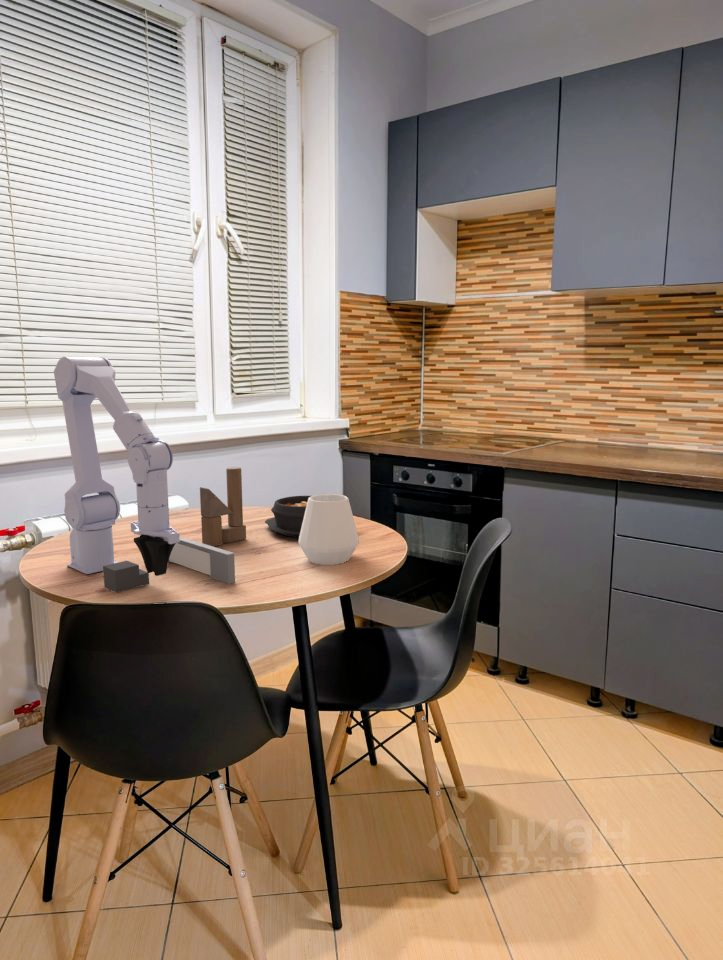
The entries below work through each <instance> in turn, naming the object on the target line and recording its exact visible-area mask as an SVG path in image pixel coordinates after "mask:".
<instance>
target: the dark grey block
mask: <svg viewBox="0 0 723 960" xmlns="http://www.w3.org/2000/svg"><path fill="white" fill-rule="evenodd" d="M117 562H118V561H117ZM102 572H103V574H102V575H103V586H104V587H103V588H105V589H107V590H109V591H112V592H114V593H116V594H117V593H120V592H123V591H124V592H125V591H127V590H131V589H135V588H139V587H143V586H146V585H150V574H149V573H148V572H147V570H146V571H145V570H143V569H140V565H139V564H137V563H135V562H132V561H129V560H124V561H119V562H118V563H114V564H110V565H105V566H103V571H102Z"/></svg>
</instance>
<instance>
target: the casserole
mask: <svg viewBox="0 0 723 960" xmlns="http://www.w3.org/2000/svg"><path fill="white" fill-rule="evenodd" d="M311 496H312V495H296V496H295V495H294V496H293V495H292V496H287V497H286V496H285V497H281V498H279V499H276V500H275V501H274V504H273V507H271V509H270V511H271V512H272V514H273V517H270V518H268V519H265V521H264V523H265V524H266V525H267V527H268V529H269V530H271V531H273V532H275V533H277V534H278V533H279V534H281V535H284V536H287V537H292V538H294V537H295V538H299V535H300V531H301V527H302V523H303V519H304V514H305V510H306V506H307V502H308V498H309V497H311Z"/></svg>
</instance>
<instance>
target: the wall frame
mask: <svg viewBox="0 0 723 960" xmlns="http://www.w3.org/2000/svg"><path fill="white" fill-rule="evenodd" d="M179 543H183V544H186V545H189V546H192V547H195V548H199V549H202V550H205V551H208V552H210V566H211V575H210V578H211V579H212V580H216V581H219V582H221V583H224V584H227V585H231V584H234V583H236V569H235V568H236V566H235V553H234V552H231V551H228V550H225V549H223V548H219V547H217V546H215V547H213V546H209V545H206V544H203V543H202V542H199V541H196V540H193V539H189V538H185V537H183V536H180V542H179ZM170 562H171V561H168V563H170ZM171 563H172V562H171Z"/></svg>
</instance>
